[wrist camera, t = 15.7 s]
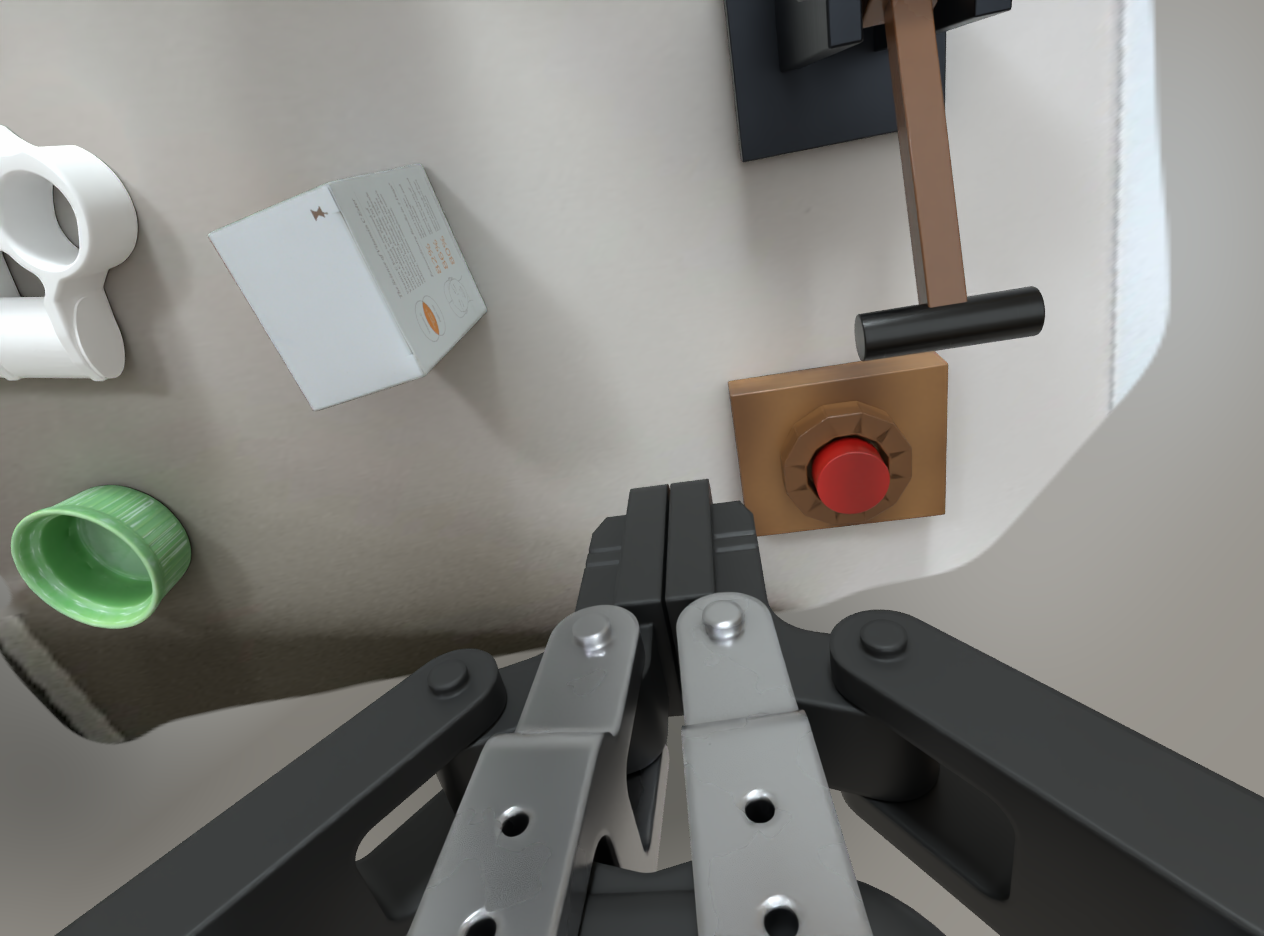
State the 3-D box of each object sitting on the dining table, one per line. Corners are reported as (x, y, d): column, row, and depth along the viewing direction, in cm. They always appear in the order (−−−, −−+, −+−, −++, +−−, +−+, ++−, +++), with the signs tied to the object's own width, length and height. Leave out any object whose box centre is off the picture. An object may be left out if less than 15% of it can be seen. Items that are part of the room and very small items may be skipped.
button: (813, 501, 37) (819, 518, 35) (808, 442, 35) (814, 457, 34) (882, 493, 36) (891, 509, 35) (880, 432, 35) (889, 447, 33)
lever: (1019, 340, 21) (1056, 329, 19) (855, 365, 22) (870, 358, 20) (970, -91, 21) (1001, -157, 18) (802, -50, 21) (811, -109, 19)
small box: (329, 199, 35) (198, 229, 26) (424, 160, 34) (324, 177, 24) (401, 343, 38) (310, 416, 29) (491, 312, 37) (425, 378, 28)
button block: (745, 517, 42) (751, 554, 38) (727, 380, 38) (731, 408, 34) (932, 494, 40) (956, 531, 37) (934, 349, 36) (960, 374, 33)
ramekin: (226, 575, 47) (185, 616, 43) (120, 597, 49) (70, 640, 45) (152, 462, 43) (99, 496, 39) (39, 491, 45) (-23, 527, 41)
